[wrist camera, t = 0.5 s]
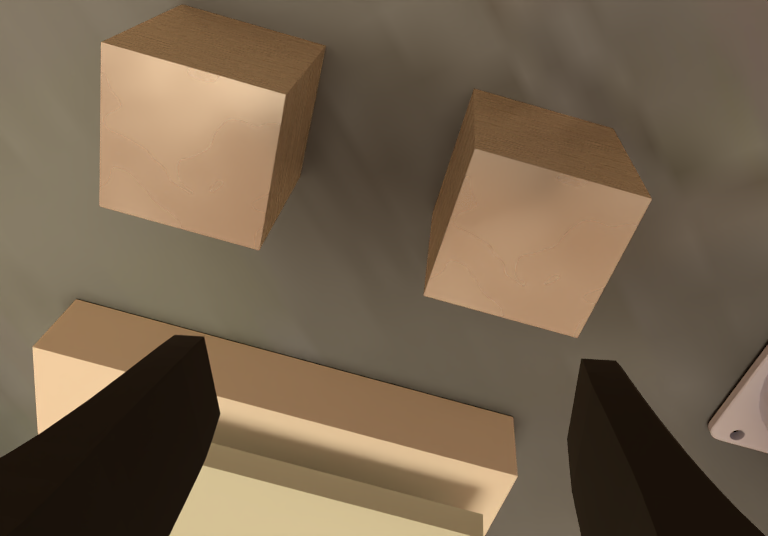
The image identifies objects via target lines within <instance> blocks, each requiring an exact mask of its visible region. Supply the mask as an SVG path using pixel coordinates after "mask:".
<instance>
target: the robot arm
mask: <svg viewBox="0 0 768 536" xmlns="http://www.w3.org/2000/svg"><path fill="white" fill-rule="evenodd" d="M219 417H220V409H219V404H218V400H217V395H216V390H215V385H214V380H213V376H212V371H211V366H210V361H209V357H208V352H207V347H206V342H205V338H204V336H189V335H174V336H172V337H171V338H169V339H168V340H167V341H165V342H164V343H162V344H161V345H160V346H158V347H157V348H156V349H154V350H153V351H152V352H151V353H149V354H148V355H147V356H145V357H144V358H143V359H141V360H140V361H139V362H138V363H136V364H135V365H134V366H132V367H131V368H130V369H129V370H127V371H126V372H125V373H123V374H122V375H121V376H119V377H118V378H117V379H115V380H114V381H113V382H111V383H110V384H109V385H107V386H106V387H105V388H103V389H102V390H101V391H100V392H98V393H97V394H96V395H94V396H93V397H92V398H90V399H89V400H87V401H86V402H85V403H83V404H82V405H80V406H79V407H77V408H76V409H75V410H73V411H72V412H70V413H69V414H67V415H66V416H64V417H63V418H62V419H60V420H59V421H57V422H56V423H54V424H53V425H51V426H50V427H49V428H47V429H46V430H44V431H43V432H41V433H40V434H38V435H37V436H35V437H34V438H32V439H31V440H29V441H27V442H26V443H24V444H23V445H21V446H19V447H18V448H16V449H15V450H13V451H11V452H9V453H8V454H6V455H4V456H3V457H1V458H0V536H169V535H170V533H171V531H172V529H173V527H174V525H175V523H176V521H177V519H178V517H179V515H180V513H181V511H182V509H183V506H184V504H185V502H186V500H187V498H188V496H189V494H190V492H191V490H192V488H193V486H194V483H195V481H196V479H197V477H198V475H199V473H200V471H201V469H202V466H203V464H204V462H205V460H206V457H207V454H208V451H209V448H210V445H211V442H212V439H213V436H214V433H215V430H216V426H217V423H218V420H219ZM708 429H709V431H710V434H711V435H712V437H713V438H715V439H717V440H721V441H725V442H728V443H732V444H736V445H739V446H743V447H747V448H750V449H754V450H758V451H761V452H765V453H768V345H767V346H766V347H765V349H764V350H763V351H762V353H761V354H760V355H759V357H758V358H757V359H756V361H755V362H754V363H753V365H752V366H751V367H750V369H749V370H748V371H747V373H746V374H745V375H744V377H743V378H742V379H741V381H740V382H739V383H738V385H737V386H736V387H735V389H734V390H733V391H732V393H731V394H730V395H729V397H728V398H727V399H726V401H725V402H724V403H723V405H722V406H721V407H720V409H719V410H718V411H717V413H716V414H715V415H714V417H713V418H712V419H711V421H710V422H709V424H708ZM736 430H739V431H737V432H733V431H736ZM567 442H568V454H569V466H570V476H571V486H572V493H573V498H574V503H575V508H576V513H577V518H578V522H579V527H580V532H581V536H765V535H764V534H763V533H762V532H761V531H760V530H759V529H758V528H757V527H756V526H755V525H754V524H752V523H751V522H750V521H749V520H748V519H747V518H746V517H745V516H744V515H743V514H742V513H741V512H740V511H739V510H738V509H737V508H736V507H735V506H734V505H733V504H732V503H731V502H730V501H729V500H728V499H727V497H726V496H725V495H724V494H723V493H722V492H721V491H720V490H719V489H718V488H717V487H716V486H715V484H714V483H713V482H712V481H711V480H710V479H709V478H708V477H707V476H706V475H705V473H704V472H703V471H702V470H701V469H700V468H699V467H698V466H697V464H696V463H695V462H694V461H693V460H692V459H691V457H690V456H689V455H688V454H687V453H686V451H685V450H684V449H683V448H682V447H681V445H680V444H679V443H678V442H677V440H676V439H675V438H674V437H673V436H672V434H671V433H670V432H669V431H668V429H667V428H666V427H665V426H664V424H663V423H662V422H661V420H660V419H659V418H658V417H657V415H656V414H655V413H654V411H653V410H652V409H651V407H650V406H649V405H648V403H647V402H646V401H645V399H644V398H643V397H642V395H641V394H640V392H639V391H638V390H637V388H636V387H635V386H634V384H633V383H632V381H631V380H630V379H629V377H628V376H627V374H626V373H625V371H624V370H623V369H622V367H621V366H620V365H619V364H618V363H617V362H616V361H611V360H594V359H581V363H580V369H579V375H578V381H577V386H576V392H575V398H574V404H573V409H572V415H571V421H570V426H569V432H568V438H567Z"/></svg>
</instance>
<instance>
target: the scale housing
mask: <svg viewBox="0 0 768 536" xmlns="http://www.w3.org/2000/svg"><path fill="white" fill-rule="evenodd" d="M174 335H189V336H204V338H205V342H206V347H207V352H208V357H209V361H210V366H211V371H212V376H213V380H214V385H215V390H216V395H217V400H218V404H219V409H220V417H219V420H218V423H217V426H216V430H215V433H214V436H213V439H212V442H211V443H214V444H218V445H222V446H226V447H229V448H233V449H237V450H241V451H245V452H248V453H252V454H256V455H260V456H264V457H267V458H271V459H275V460H279V461H283V462H286V463H290V464H294V465H298V466H301V467H305V468H309V469H313V470H317V471H320V472H324V473H328V474H332V475H336V476H339V477H343V478H347V479H351V480H354V481H358V482H362V483H366V484H370V485H373V486H377V487H381V488H385V489H389V490H392V491H396V492H400V493H404V494H408V495H411V496H415V497H419V498H423V499H426V500H430V501H434V502H438V503H442V504H445V505H449V506H453V507H457V508H461V509H464V510H468V511H472V512H476V513H480V514H483V536H485V534H486V532H487V531H488V529H489V527H490V525H491V523H492V522H493V520H494V518H495V516H496V514H497V513H498V511H499V509H500V507H501V505H502V504H503V502H504V500H505V498H506V496H507V495H508V493H509V491H510V489H511V487H512V486H513V484H514V482H515V480H516V478H517V477H518V474H517V461H516V448H515V435H514V422H513V417H511V416H507V415H503V414H499V413H496V412H492V411H488V410H485V409H481V408H477V407H474V406H470V405H466V404H462V403H459V402H455V401H451V400H448V399H444V398H440V397H437V396H433V395H429V394H425V393H422V392H418V391H414V390H411V389H407V388H403V387H400V386H396V385H392V384H388V383H385V382H381V381H377V380H374V379H370V378H366V377H362V376H359V375H355V374H351V373H348V372H344V371H340V370H337V369H333V368H329V367H325V366H322V365H318V364H314V363H311V362H307V361H303V360H300V359H296V358H292V357H288V356H285V355H281V354H277V353H274V352H270V351H266V350H262V349H259V348H255V347H251V346H248V345H244V344H240V343H237V342H233V341H229V340H225V339H222V338H218V337H214V336H211V335H207V334H203V333H200V332H196V331H192V330H188V329H185V328H181V327H177V326H174V325H170V324H166V323H162V322H159V321H155V320H151V319H148V318H144V317H140V316H137V315H133V314H129V313H125V312H122V311H118V310H114V309H111V308H107V307H103V306H100V305H96V304H92V303H88V302H85V301H81V300H77V299H76V300H75V301H74V302H73V303H72V304H71V305H70V307H69V308H68V309H67V310H66V311H65V312H64V313H63V314H62V315H61V316H60V317H59V319H58V320H57V321H56V322H55V323H54V324H53V325H52V326H51V327H50V328H49V330H48V331H47V332H46V333H45V334H44V335H43V336H42V337H41V338H40V339H39V340H38V342H37V343H36V344H35V345H34V346H33V362H34V377H35V393H36V409H37V425H38V434H40V433H41V432H43V431H44V430H46V429H47V428H49V427H50V426H51V425H53V424H54V423H56V422H57V421H59V420H60V419H62V418H63V417H64V416H66V415H67V414H69V413H70V412H72V411H73V410H75V409H76V408H77V407H79V406H80V405H82V404H83V403H85V402H86V401H87V400H89V399H90V398H92V397H93V396H94V395H96V394H97V393H98V392H100V391H101V390H102V389H103V388H105V387H106V386H107V385H109V384H110V383H111V382H113V381H114V380H115V379H117V378H118V377H119V376H121V375H122V374H123V373H125V372H126V371H127V370H129V369H130V368H131V367H132V366H134V365H135V364H136V363H138V362H139V361H140V360H141V359H143V358H144V357H145V356H147V355H148V354H149V353H151V352H152V351H153V350H154V349H156V348H157V347H158V346H160V345H161V344H162V343H164V342H165V341H167V340H168V339H169V338H171V337H172V336H174Z"/></svg>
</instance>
